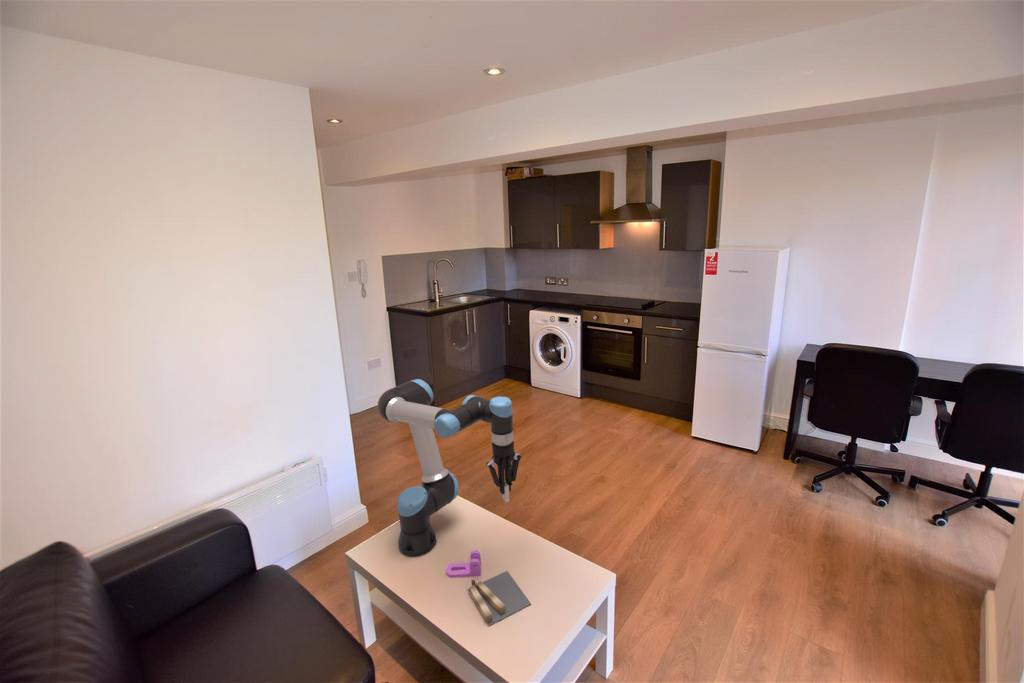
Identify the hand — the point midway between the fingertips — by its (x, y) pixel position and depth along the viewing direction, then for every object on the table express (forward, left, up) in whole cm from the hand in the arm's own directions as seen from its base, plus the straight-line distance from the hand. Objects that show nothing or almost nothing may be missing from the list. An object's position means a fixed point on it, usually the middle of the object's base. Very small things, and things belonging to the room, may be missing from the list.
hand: (505, 499), depth 163 cm
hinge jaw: (+11, -13, -29) cm, 33 cm away
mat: (+10, -10, -29) cm, 33 cm away
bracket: (-7, -16, -30) cm, 34 cm away
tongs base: (+10, -17, -29) cm, 35 cm away
